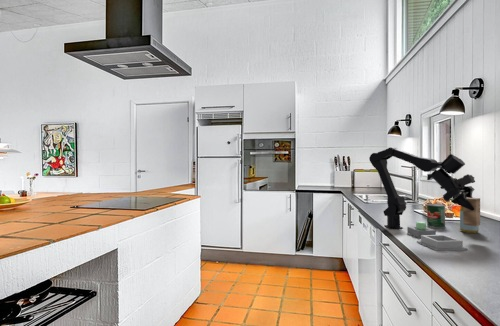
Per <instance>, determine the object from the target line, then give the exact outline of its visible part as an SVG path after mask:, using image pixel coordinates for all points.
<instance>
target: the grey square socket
mask: <svg viewBox="0 0 500 326" xmlns="http://www.w3.org/2000/svg"><path fill="white" fill-rule="evenodd" d="M417 242H418V244H420V245H423V246H425V247H426V248H429V249H432V250H434V251H436V252H441V251H442V252H444V251H468V248H467V247H465V246H463V245H464V244H463V240H461V239H457V238H455V237H452V236H449V235H447V234H436V235H421V238H420V240H416V243H417Z"/></svg>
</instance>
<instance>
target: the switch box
mask: <svg viewBox="0 0 500 326" xmlns="http://www.w3.org/2000/svg"><path fill="white" fill-rule="evenodd" d="M406 229H407V230H406V231H407V232H406V233H407V234H409V235H411V236H413V237H416V238H417V239H419V238H420V239H421V235H437V234H436V232H437V231H436V230H435V229H433V228H431V227H427V226H426V230H419V229H416V226H407V228H406Z"/></svg>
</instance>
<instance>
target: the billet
mask: <svg viewBox="0 0 500 326" xmlns="http://www.w3.org/2000/svg"><path fill="white" fill-rule="evenodd" d="M466 199H467V200H468V201H469V202H470V204H471V205H472V206H473V207H474V210H473V211H472V210H469V209H467V208H465V207H463V225H469V226H481V197H479V198H478V197H473V198H470V197H467V198H466Z"/></svg>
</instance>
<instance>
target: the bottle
mask: <svg viewBox="0 0 500 326" xmlns="http://www.w3.org/2000/svg"><path fill="white" fill-rule="evenodd" d="M479 226H480V225H479ZM479 226H469V225H463V206H460V208H459V230H460V231H461V232H463V233H467V234H478V232H479V230H480V228H479Z"/></svg>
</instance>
